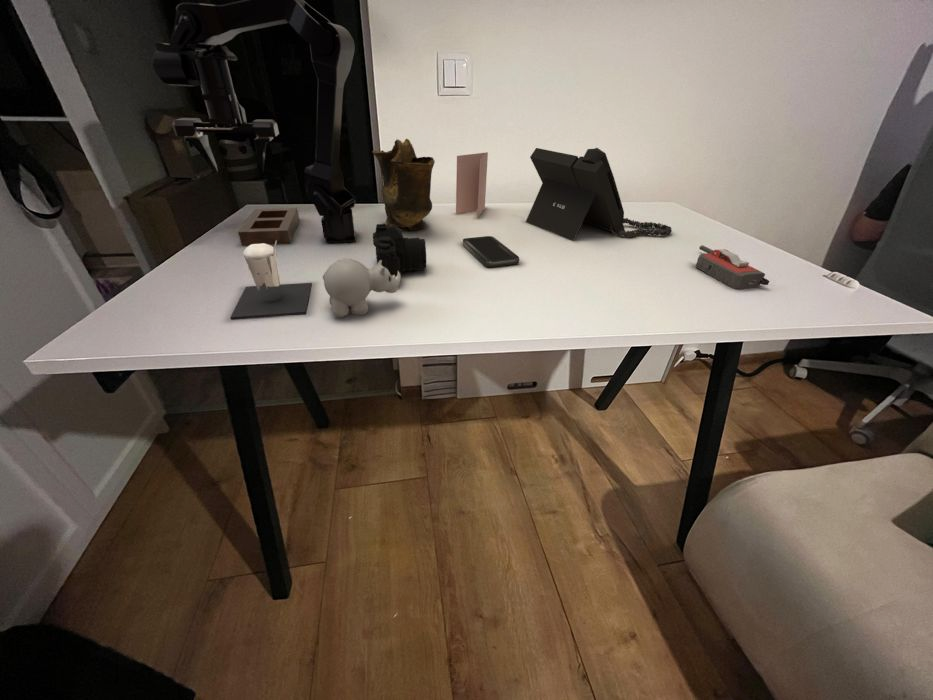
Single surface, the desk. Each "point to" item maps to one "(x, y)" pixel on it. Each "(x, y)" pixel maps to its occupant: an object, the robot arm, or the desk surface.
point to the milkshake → (264, 270)
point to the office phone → (580, 195)
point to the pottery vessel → (405, 185)
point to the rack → (269, 226)
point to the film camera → (398, 250)
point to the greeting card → (471, 182)
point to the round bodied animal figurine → (356, 285)
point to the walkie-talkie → (729, 269)
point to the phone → (490, 251)
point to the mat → (289, 304)
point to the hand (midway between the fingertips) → (239, 172)
